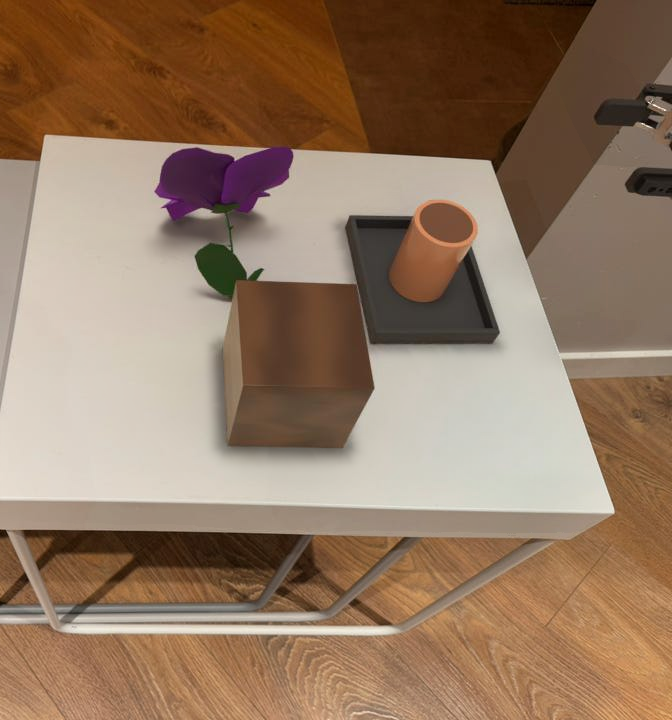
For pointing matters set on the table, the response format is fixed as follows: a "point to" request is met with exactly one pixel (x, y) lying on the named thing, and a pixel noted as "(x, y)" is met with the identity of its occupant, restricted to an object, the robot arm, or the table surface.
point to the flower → (220, 198)
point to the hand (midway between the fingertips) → (614, 144)
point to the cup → (432, 250)
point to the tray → (406, 317)
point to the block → (295, 364)
